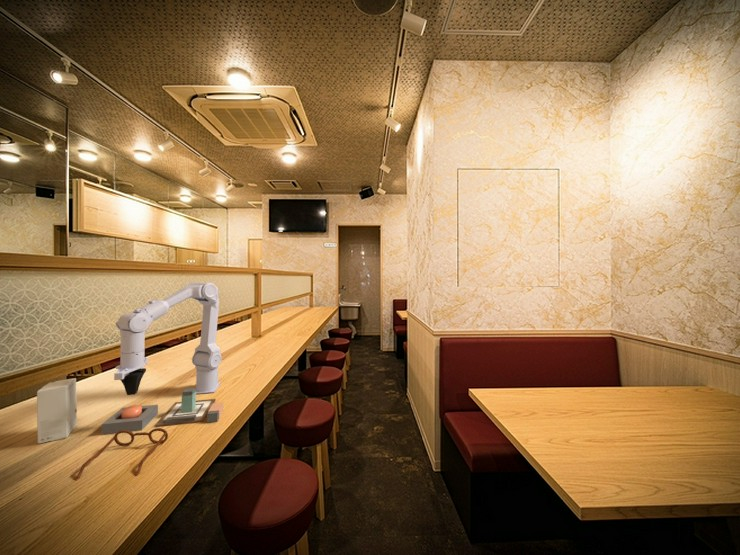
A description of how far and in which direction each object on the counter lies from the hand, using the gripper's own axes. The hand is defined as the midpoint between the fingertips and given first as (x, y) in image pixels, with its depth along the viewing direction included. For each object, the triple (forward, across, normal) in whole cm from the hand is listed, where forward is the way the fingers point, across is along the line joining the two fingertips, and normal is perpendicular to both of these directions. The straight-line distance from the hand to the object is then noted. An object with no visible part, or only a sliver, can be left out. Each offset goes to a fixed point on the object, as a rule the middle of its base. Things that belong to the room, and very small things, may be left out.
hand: (132, 394), depth 86 cm
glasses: (+10, +19, +8) cm, 23 cm away
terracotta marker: (+9, +2, +24) cm, 26 cm away
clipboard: (+9, -4, +14) cm, 18 cm away
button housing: (+9, 0, 0) cm, 9 cm away
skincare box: (+10, +2, -17) cm, 20 cm away
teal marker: (+9, -4, +14) cm, 17 cm away
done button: (+8, 0, 0) cm, 8 cm away
